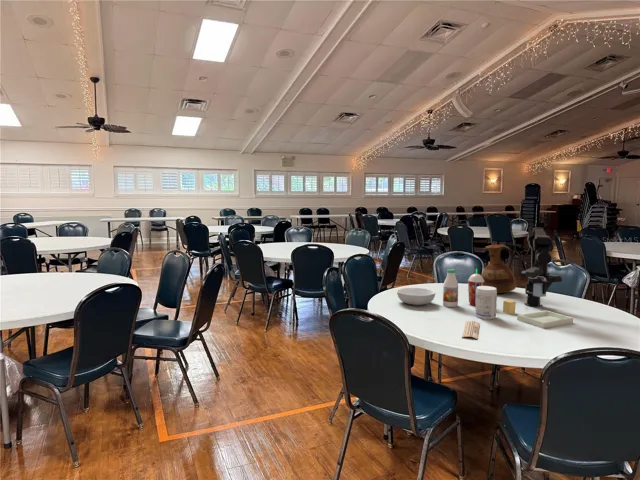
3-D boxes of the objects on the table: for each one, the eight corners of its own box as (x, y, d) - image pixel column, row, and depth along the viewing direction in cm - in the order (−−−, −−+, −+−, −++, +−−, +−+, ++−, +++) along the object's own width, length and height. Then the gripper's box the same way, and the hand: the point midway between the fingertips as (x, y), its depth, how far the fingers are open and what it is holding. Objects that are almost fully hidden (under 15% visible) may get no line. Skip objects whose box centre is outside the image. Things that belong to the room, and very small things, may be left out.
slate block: (538, 294, 204) (539, 282, 203) (546, 296, 200) (546, 284, 200) (533, 295, 202) (533, 283, 202) (540, 297, 198) (540, 284, 198)
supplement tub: (484, 313, 208) (486, 285, 206) (500, 318, 199) (501, 288, 198) (470, 315, 203) (471, 286, 202) (486, 320, 195) (487, 290, 193)
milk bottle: (440, 304, 226) (441, 268, 224) (454, 303, 227) (455, 268, 225) (446, 307, 219) (447, 270, 217) (460, 307, 219) (461, 270, 217)
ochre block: (508, 311, 212) (509, 299, 211) (515, 313, 208) (515, 301, 207) (502, 312, 210) (503, 300, 209) (509, 314, 206) (509, 302, 206)
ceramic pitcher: (476, 288, 266) (477, 242, 263) (507, 288, 265) (509, 242, 262) (487, 295, 246) (489, 246, 243) (521, 295, 245) (523, 246, 242)
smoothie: (484, 307, 220) (486, 270, 218) (468, 306, 221) (469, 269, 219) (481, 303, 228) (483, 267, 226) (466, 302, 230) (467, 267, 228)
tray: (546, 315, 204) (546, 310, 204) (573, 322, 191) (573, 317, 191) (517, 319, 196) (517, 314, 196) (543, 328, 183) (543, 322, 183)
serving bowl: (431, 299, 237) (431, 287, 237) (438, 308, 217) (438, 296, 216) (395, 298, 240) (395, 286, 239) (398, 307, 219) (398, 295, 218)
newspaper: (465, 323, 193) (465, 320, 192) (481, 325, 190) (482, 321, 190) (461, 339, 171) (462, 335, 171) (479, 341, 168) (480, 337, 168)
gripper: (513, 260, 205) (512, 291, 207) (546, 265, 188) (544, 298, 189) (529, 259, 210) (528, 289, 211) (563, 264, 192) (561, 296, 193)
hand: (539, 293), depth 201 cm, fingers closed on slate block, 4 cm apart
